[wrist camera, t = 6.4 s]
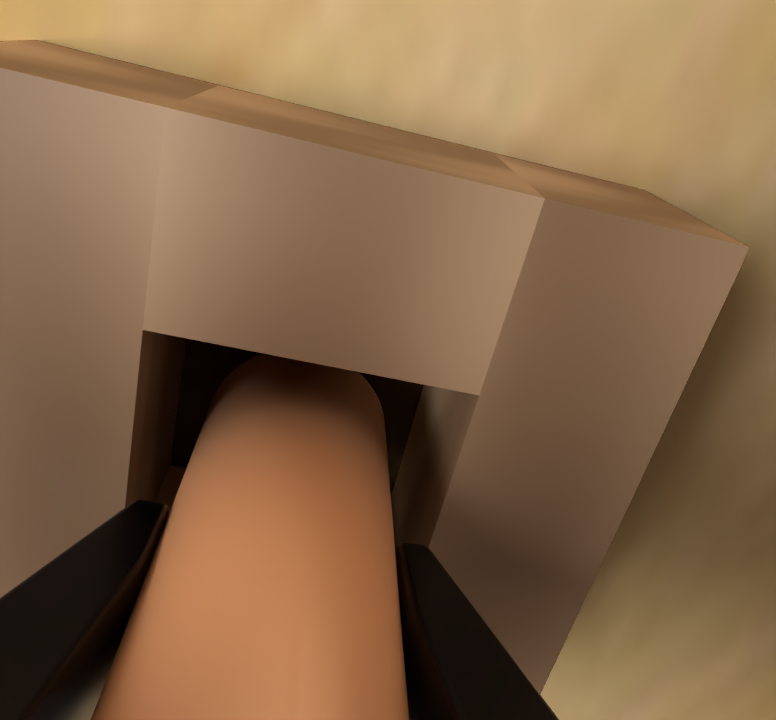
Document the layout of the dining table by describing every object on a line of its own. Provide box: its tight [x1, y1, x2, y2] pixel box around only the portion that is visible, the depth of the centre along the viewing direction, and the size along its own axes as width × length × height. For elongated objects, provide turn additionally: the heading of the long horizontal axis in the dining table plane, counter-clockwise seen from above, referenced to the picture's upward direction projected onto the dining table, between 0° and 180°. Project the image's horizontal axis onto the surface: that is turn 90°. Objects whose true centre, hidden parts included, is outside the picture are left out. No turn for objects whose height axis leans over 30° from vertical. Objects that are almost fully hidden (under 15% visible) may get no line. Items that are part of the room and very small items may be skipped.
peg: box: [91, 354, 409, 720], centre depth 7 cm, size 3×3×10 cm
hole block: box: [0, 40, 750, 694], centre depth 12 cm, size 10×10×4 cm
